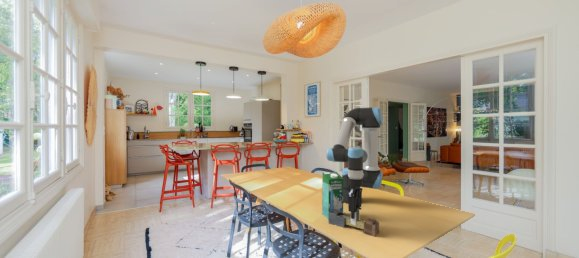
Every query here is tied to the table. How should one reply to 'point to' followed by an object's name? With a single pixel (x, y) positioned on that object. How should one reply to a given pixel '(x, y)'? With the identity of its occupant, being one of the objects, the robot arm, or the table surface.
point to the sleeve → (337, 218)
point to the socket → (371, 227)
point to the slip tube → (358, 221)
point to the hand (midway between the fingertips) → (355, 223)
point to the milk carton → (332, 193)
